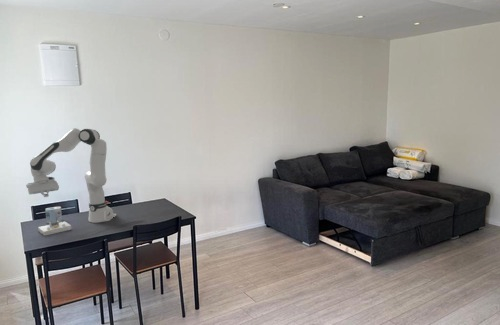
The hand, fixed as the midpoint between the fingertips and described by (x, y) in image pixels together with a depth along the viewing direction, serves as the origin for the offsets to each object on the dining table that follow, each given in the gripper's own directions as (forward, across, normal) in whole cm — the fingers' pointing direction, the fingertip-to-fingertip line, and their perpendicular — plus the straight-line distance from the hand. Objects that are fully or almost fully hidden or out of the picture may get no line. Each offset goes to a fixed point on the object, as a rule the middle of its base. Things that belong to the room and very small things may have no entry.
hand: (46, 196), depth 268 cm
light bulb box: (+11, +6, +22) cm, 25 cm away
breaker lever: (+23, 0, +4) cm, 23 cm away
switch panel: (+26, 0, +6) cm, 27 cm away
